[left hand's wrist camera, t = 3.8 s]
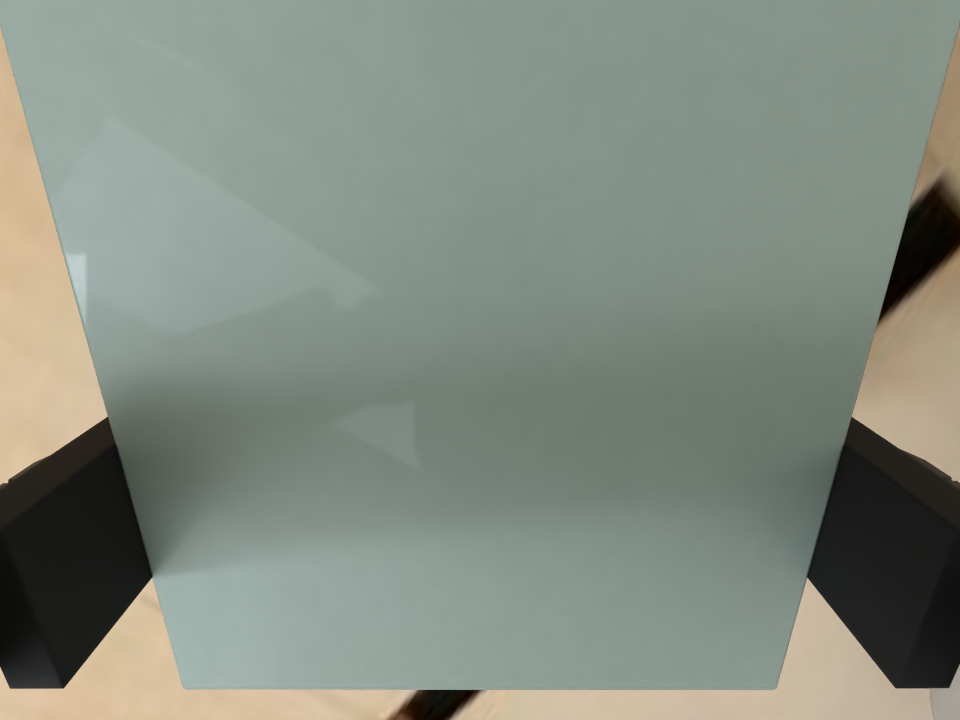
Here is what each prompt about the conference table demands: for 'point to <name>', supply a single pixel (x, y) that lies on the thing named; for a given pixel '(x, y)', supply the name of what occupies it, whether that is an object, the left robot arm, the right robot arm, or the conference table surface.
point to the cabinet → (479, 316)
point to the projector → (946, 700)
